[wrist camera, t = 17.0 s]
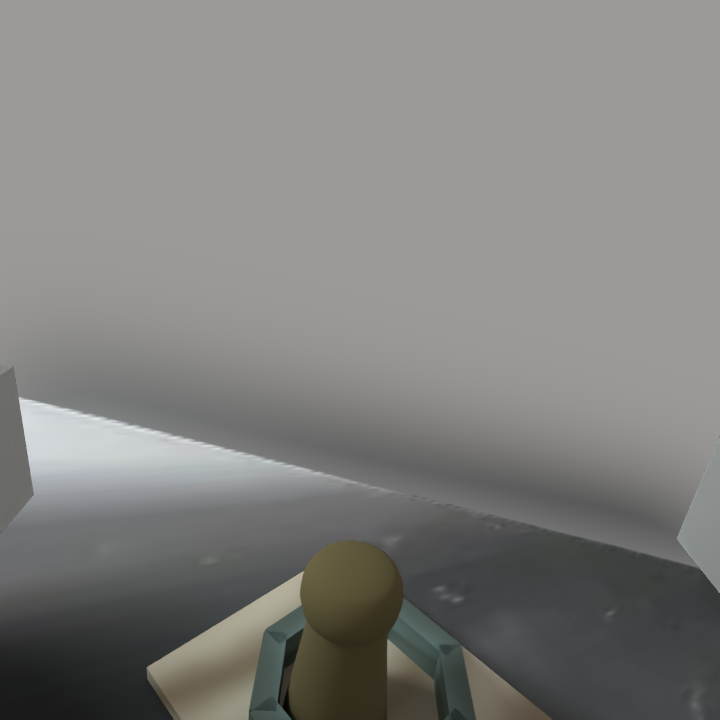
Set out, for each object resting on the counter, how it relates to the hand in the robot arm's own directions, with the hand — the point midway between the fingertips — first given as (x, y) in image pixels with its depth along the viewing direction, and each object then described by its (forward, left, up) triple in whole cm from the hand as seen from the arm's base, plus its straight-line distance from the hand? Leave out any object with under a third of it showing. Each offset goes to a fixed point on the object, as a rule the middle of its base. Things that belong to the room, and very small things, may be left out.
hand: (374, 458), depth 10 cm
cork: (-8, +9, -25) cm, 28 cm away
